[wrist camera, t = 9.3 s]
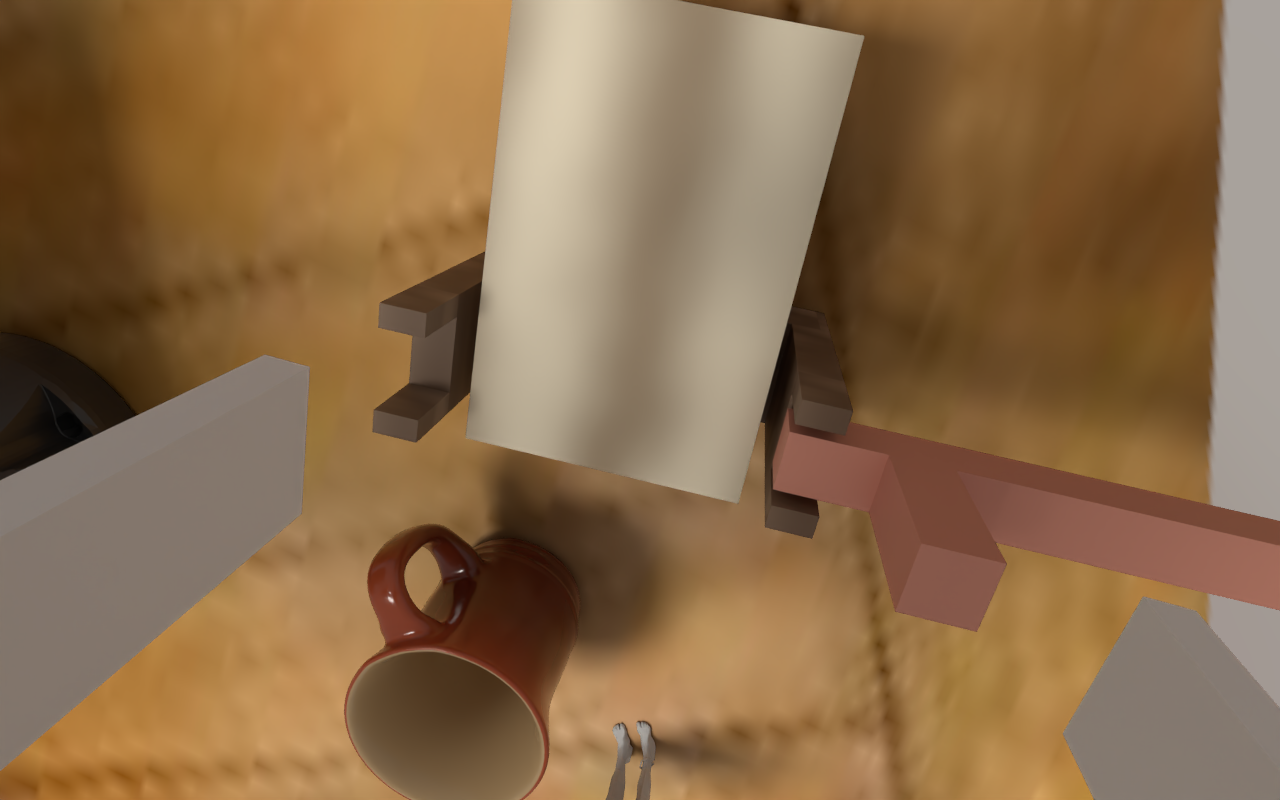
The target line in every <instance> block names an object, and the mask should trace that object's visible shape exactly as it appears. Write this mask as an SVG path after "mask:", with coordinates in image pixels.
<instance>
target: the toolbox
mask: <svg viewBox="0 0 1280 800" xmlns="http://www.w3.org/2000/svg"><path fill="white" fill-rule="evenodd" d="M484 260H485V252H483V253H481V254H479V255H477V256H475V257H473V258H471V259H469V260H467V261H464V262H462V263H460V264H458V265H456V266H454V267H452V268H450V269H448V270H446V271H444V272H442V273H440V274H438V275H436V276H434V277H432V278H430V279H427V280H425V281H423V282H421V283H419V284H417V285H415V286H413V287H411V288H409V289H407V290H405V291H403V292H401V293H399V294H397V295H395V296H393V297H391V298H388V299H386V300H384V301H382V302H380V306H379V325H378V328H382V329H386V330H391V331H395V332H399V333H404V334H408V335H412V336H413V338H412V351H411V365H410V379H409V384H407V385H406V386H405V387H403V388H402V389H401V390H399V391H398V392H397V393H395V394H394V395H393V396H391V397H390V398H389V399H388V400H386V401H385V402H384V403H382V404H381V405H380V406H378V407H377V408H376V409H374V416H373V432H375V433H379V434H383V435H387V436H391V437H395V438H399V439H404V440H408V441H412V442H417V441H418V440H420V439H421V438H422V437H423V436H424V435H425V434H426V433H427V432H428V431H429V430H430V429H431V428H432V427H433V426H434V425H436V424H437V423H438V422H439V421H440V420H441V419H442V418H443V417H444V416H445V415H446V414H447V413H448V412H449V411H450V410H452V409H453V408H454V407H455V406H456V405H457V404H458V403H459V402H460V401H461V400H462V399H463V398H464V397H465V396H466V395H467V394H469V393H470V391H471V382H472V372H473V363H474V354H475V344H476V335H477V326H478V316H479V307H480V298H481V288H482V279H483V270H484ZM788 408H790V409H793V411H794V421H795V424H797V425H801V426H805V427H810V428H814V429H818V430H823V431H827V432H831V433H836V434H840V435H844V436H845V435H846V432H847V429H848V425H849V422H850V419H851V416H852V413H853V409H852V406H851V402H850V399H849V396H848V392H847V389H846V386H845V382H844V379H843V376H842V372H841V369H840V366H839V362H838V359H837V356H836V352H835V349H834V346H833V342H832V339H831V335H830V332H829V329H828V325H827V322H826V319H825V315H824V313H820V312H815V311H811V310H806V309H801V308H797V307H792V306H791V310H790V314H789V317H788V321H787V325H786V329H785V332H784V336H783V340H782V343H781V347H780V351H779V354H778V358H777V362H776V366H775V369H774V373H773V377H772V380H771V384H770V388H769V392H768V395H767V399H766V403H765V406H764V410H763V414H762V417H761V421H760V422H762V423H765V527H766V528H770V529H774V530H778V531H782V532H787V533H791V534H795V535H799V536H803V537H807V538H811V539H812V538H813V535H814V532H815V529H816V526H817V522H818V519H819V511H818V504H817V500H815V499H811V498H807V497H803V496H799V495H795V494H790V493H786V492H782V491H778V490H774V489H773V458H774V455H775V451H776V448H777V444H778V441H779V437H780V434H781V430H782V427H783V423H784V420H785V416H786V412H787V409H788Z"/></svg>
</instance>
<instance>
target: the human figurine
mask: <svg viewBox="0 0 1280 800" xmlns="http://www.w3.org/2000/svg"><path fill="white" fill-rule="evenodd" d="M637 731H638V733H639V734H640V737H641V745H642V750H643V757H644V759H643V760H641V763H642V761H643V766H642V767H641V764H640V768H641V769H642V771H641V775H640V778H639V782H638V786H637V798H636V800H649V799H650V788H651V775H650V772H651V766H652V765H654V763H652V762H653V761H654V760H655V750H656V746H655V742H654V740H653V738H652V737H651V728H650V726H648V723H646V722H644V723H643V722H641V724H640V722H637ZM613 733H614V735H615V737H616V740H617V742H618V758H617V763H616V769H615V772H614V774H613V776H612V779H611V783H610V787H609V792H608V795H607V798H606V800H623V797H624V790H625V764H626V763H628V762H630V758H631V754H632V750H633V747H632V746H631V745H630V739H629V738H628V735H627V731H626V729H625V726H624V724H620V726H619V724H617V725H616V726H614V727H613Z"/></svg>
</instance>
